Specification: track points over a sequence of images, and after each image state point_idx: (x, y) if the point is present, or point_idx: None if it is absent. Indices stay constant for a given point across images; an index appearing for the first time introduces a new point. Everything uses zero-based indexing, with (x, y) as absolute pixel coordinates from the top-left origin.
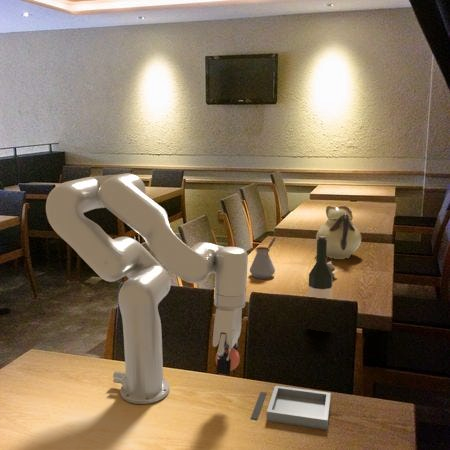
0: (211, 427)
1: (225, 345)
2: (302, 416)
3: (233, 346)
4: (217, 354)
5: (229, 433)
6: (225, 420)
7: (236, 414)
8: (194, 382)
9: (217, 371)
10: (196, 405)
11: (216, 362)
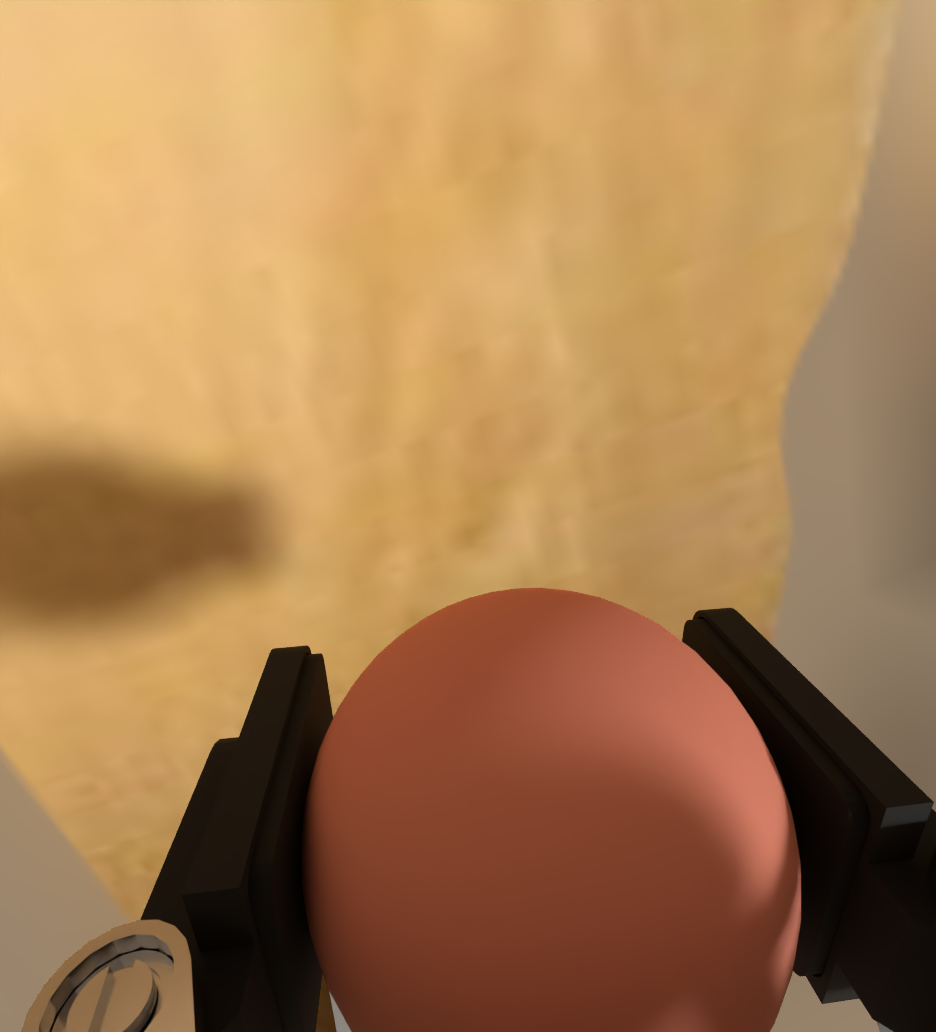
0: (81, 521)
1: (920, 807)
2: (336, 1023)
3: (853, 980)
4: (424, 790)
5: (82, 655)
6: (213, 584)
7: (316, 628)
8: (689, 116)
9: (268, 664)
10: (315, 291)
11: (382, 662)
